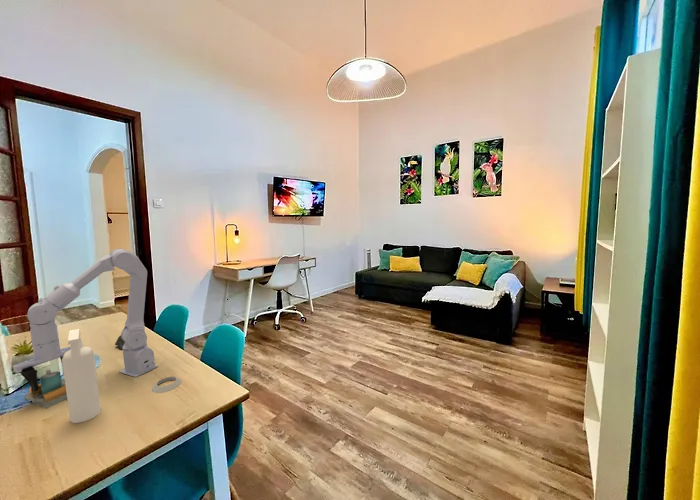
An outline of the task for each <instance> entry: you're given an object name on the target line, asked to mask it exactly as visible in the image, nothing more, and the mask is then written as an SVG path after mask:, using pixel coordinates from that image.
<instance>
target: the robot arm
mask: <svg viewBox="0 0 700 500" xmlns="http://www.w3.org/2000/svg"><path fill="white" fill-rule="evenodd" d="M115 267H116V268H117V269H120V270H123V271H124V272H125V273H126V274H128V275H129V276H130V277H129V278H130V279H129V290H128V300H127V301H128V302H127V312H126V313H127V314H126V320H125V322H124V327H123V328H122V330H121V332H120V336H121V338H122V339H123V340H124V342H125V343H124V345H123V347H122V349H123V350H122V354H123V355H122V356H123V365H124V367H123V369H120V370H119V371H118V372H119V373H121V374H125V375H128V376H130V377H133V378H137V377H140V376H141V375H143V374H146V373H147V372H149V371H152V370H154V369H156V368H158V367H159V366H158V365H157V364H156V362H155V353H154V350H153V349H152V348H150V347H149V346H148V342H147V341H148V340H147V339H148V336H147V334H146V331H145V322H144V316H145V315H144V314H145V306H146V305H145V303H146V293H147V283H148V281H147V280H148V279H147V278H148V270H147V268H146V267H145V266H144V264H143V263H142V261H141V260H140V258H139V256H138V255H136V254H134V253H133V252H131V251H130V250H127V249H124V248H115V249H113V250H111V251H110V253H109V254H108V253H107V254H106V255H104V256H103V257H102V256H101V257H100V259H98V260H97V261H95V262H94V263H93V264H92V265H91V266H90V267H88V268H86V270H85V271H84V272H82V273H81V274H80V275H78V276H77V277H76V278H75V279H74V280H73V281H71V282H64V283H61V284H60V285H59V284H57V285H54V287H53V290H52V291H51V292H49V293H48V294H47V295H45V296H44V297H40V298H39V299H38V300H37V301H38V302H36V303H34V304H32V305H31V306H30V307H29V308H28V310H27V316H26V317H27V320H28V321H29V327H30V330H29V332H30V339H31V346H32V351H33V357H31V358H29V359H26V360H25V361H22V362H20V363H16V364H14V365H12V369H13V372H14V373H17V374H20V375H21V376H22V377H23V378H24V379H25V380H26V381H27V383H28V384H29V386H30V388H32V390H34V391H37V390H39V387H38V385H39V383H38V370H37V369H35V368H34V367H36V366H39V365H42V364H46V363H48V362H50V361H54V360H56V359H59V358H60V362H61V363H62V358H63V356H64V354H65V352H67V351H69V350H71V345H70V346H67V347H63V348H61V346H60V339H59V338H60V337H59V332H58V325H57V323H56V320H55V318H56V316H57V313H58V312H61V311H62V310H63V309H65V308H66V307H67V306H69V305H70V304H71V303H72V302H73V301H75V300H76V299H77V298H78V297H80V296H81V289H83V288H84V287H86V286H87V285H88V284H90V283H91V282H93V281H94V280H95V279H96V278H98V277H99V276H100V275H102V274H103V273H106V272H111V271H115V270H116V269H115ZM62 373H63V374H64V372H63V371H62Z"/></svg>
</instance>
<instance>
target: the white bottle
mask: <svg viewBox="0 0 700 500" xmlns="http://www.w3.org/2000/svg"><path fill="white" fill-rule="evenodd" d="M67 345H70V346H71V350H69V351H67V352H65V354H64V356H63V358H62V362H61V365H62V373H63V372H64V373H63V379H65V386H66V393H67V399H66V400H67V405H68V412H69V413H68V414H69V419H70V423H73V424H79V423H85V422H88V421H89V420H92V419H94V418H96V417H97V416H98V415H100V413H101V411H102V410H101V409H102V407H101V400H100V392H99V385H98V377H97V376H98V375H97V369H96V360H95V353H94V350H93V349H92V348H91V346H84V344H83V341H82V339H81V328H76V329H71V330H69V332H68V338H67Z"/></svg>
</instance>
